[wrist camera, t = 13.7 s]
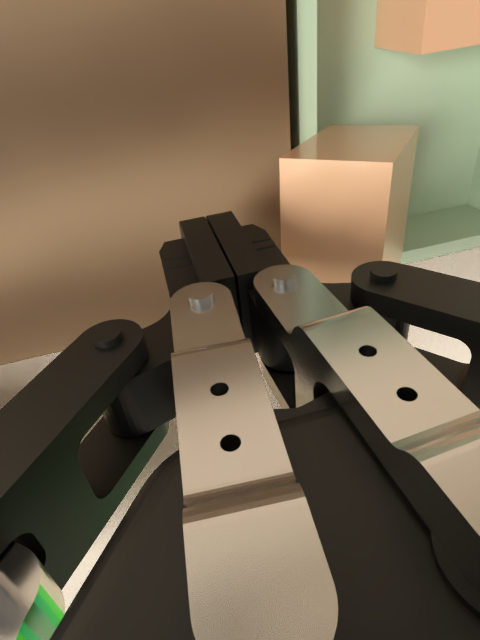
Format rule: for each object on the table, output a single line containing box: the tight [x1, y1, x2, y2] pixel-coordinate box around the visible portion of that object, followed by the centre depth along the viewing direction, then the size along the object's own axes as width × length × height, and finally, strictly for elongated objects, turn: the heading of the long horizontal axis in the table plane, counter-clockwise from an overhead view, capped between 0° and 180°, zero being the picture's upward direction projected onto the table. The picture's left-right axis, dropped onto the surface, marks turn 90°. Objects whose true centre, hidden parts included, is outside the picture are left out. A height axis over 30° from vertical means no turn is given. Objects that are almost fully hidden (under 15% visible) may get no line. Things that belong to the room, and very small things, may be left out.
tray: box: [286, 0, 480, 264], centre depth 16 cm, size 16×10×4 cm, turn 6°
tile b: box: [279, 125, 419, 283], centre depth 15 cm, size 5×5×3 cm
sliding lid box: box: [0, 0, 291, 365], centre depth 14 cm, size 16×14×4 cm
